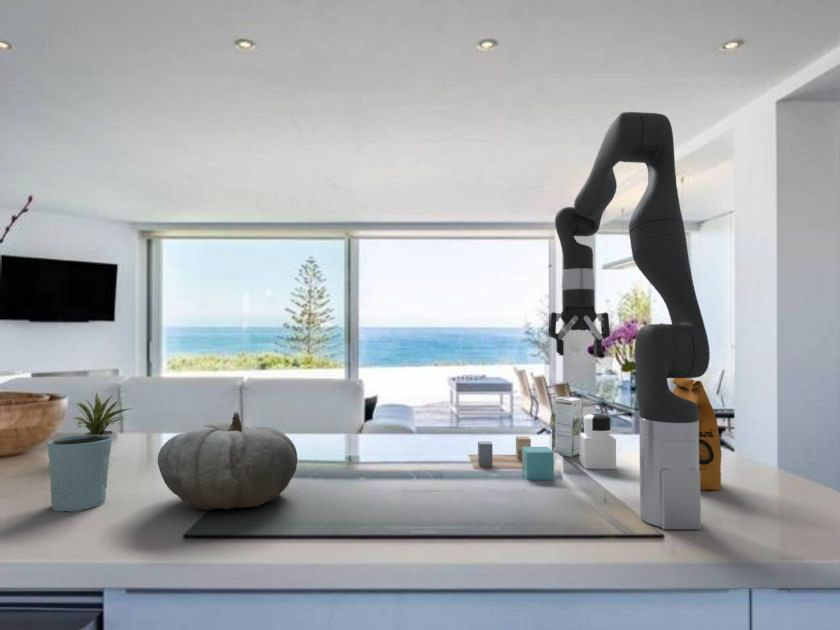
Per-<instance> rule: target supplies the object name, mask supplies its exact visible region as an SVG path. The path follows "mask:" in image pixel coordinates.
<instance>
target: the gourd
mask: <svg viewBox="0 0 840 630" xmlns="http://www.w3.org/2000/svg"><path fill="white" fill-rule="evenodd" d="M157 465H158V469H159V472H160V475H161V477H162V479H163V482H164V484H165V485H166V487H167V489H169V490H170V491H171V492H172V493H173V494H174V495H175V496H177V498H179V499H180V500H182V502H184V503H186V504H187V505H189V506H191V507H192V508H194V509H197V510H205V511H206V510H207V511H212V510H214V509H215V510H216V509H220V510H221V509H222V510H230V509H233V508H238V509H242V508H255V507H256V508H257V507H259V506H261V505H263V504H265V503H268V502H271V501H273V500H274V499H276V498H277V497H278V496H279V495H280V494H282V493H283V492H284V491H285V489H286V488H287V487H288V486H289V484H290V483H291V480H292V478H293V477H294V475H295V474H296V470H297V467H298V466H297V465H298V451H297V448H296V447H295V444H294V443H293V441H292V440H291V438H289V437H288V436H287V435H286V434H285V433H284V432H282V431H280V430H278V429H275V428H273V427H265V426H257V427H256V426H255V427H251V428H250V427H248V426H244V425H242V422H241V420H240V415H239V412H238V411H235V412H233V416H232V421H231V422H230V421H227V420H226V421H225V420H222V421H221V420H219V421H217V420H216V421H213V422H210V423H207V424H205V425H203V426H201V427H197V428H193V429H190V430H189V431H185V432H181V433H177V434H176V435H173V436H172V437H171V438H169V439H167V441H166V442H165V443H164V444H163V445H162V446H161V448H160V449H159V451H158V455H157Z"/></svg>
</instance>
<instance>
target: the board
mask: <svg viewBox="0 0 840 630" xmlns="http://www.w3.org/2000/svg"><path fill="white" fill-rule="evenodd" d="M531 439H532V438H530V437H529V436H520V435H519V436H515V454H492V466H479V464H478V454H468V458H469V460H470V463H471V466H472V468H473V470H522V447H532V446H531V445H532V444H531V443H532V440H531Z"/></svg>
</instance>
